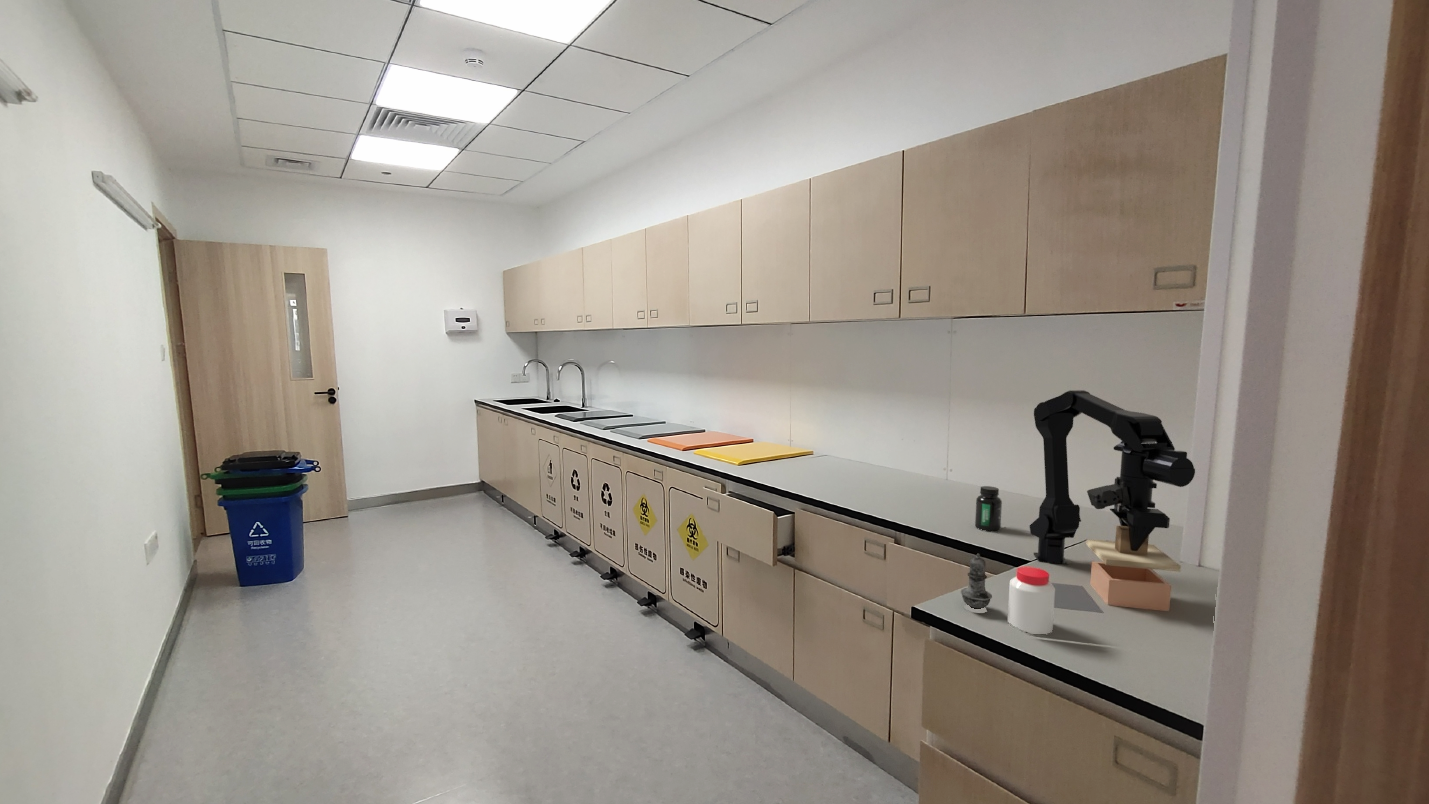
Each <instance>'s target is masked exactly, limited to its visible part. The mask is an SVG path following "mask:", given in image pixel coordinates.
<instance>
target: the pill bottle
mask: <svg viewBox="0 0 1429 804" xmlns="http://www.w3.org/2000/svg"><path fill="white" fill-rule="evenodd" d="M1049 580H1050V574H1049V572H1048V571H1046V570H1044V569H1041V568H1037V567H1034V566H1033V567H1032V566H1020V567H1017V568H1016V575H1015V576H1013V577H1012V578H1011V579H1010V580H1009V584H1008V585H1009V587H1008V588H1009V589H1008V602H1007V603H1008V605H1007V623H1008V622H1009V623H1011V624H1012V625H1013V626H1015V627H1018V628H1019V629H1021V630H1024V631H1027V632H1032V633H1038V634H1046V633H1050V632H1051V633H1053V631H1052V630H1054V619H1055V618H1054V617H1055V613H1054V612H1055V608H1054V602H1055V587H1054V586H1053V585H1052V584H1051V583H1052V582H1050V581H1049ZM1051 633H1050V634H1051ZM1046 635H1047V634H1046Z"/></svg>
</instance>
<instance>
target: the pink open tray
mask: <svg viewBox="0 0 1429 804" xmlns="http://www.w3.org/2000/svg"><path fill="white" fill-rule="evenodd" d="M1090 571H1091V572H1090V586H1091V587H1092V589H1094V591H1095V592H1096V593H1097V595H1098V596H1099V597H1100V598H1101V599H1102V600H1103V601H1104V603H1105V604H1106V606H1115V607H1122V608H1123V607H1125V608H1133V609H1134V608H1135V609H1145V610H1154V611H1163V612H1170V605H1171V604H1170V603H1171V594H1172V592H1171V591H1172V585H1171V584H1170V583H1169V582H1168V581H1167V580H1166V579H1164V578H1163V577H1162V576H1161V575H1160V574H1158V573H1157V572H1156V571H1155V569H1145V568H1134V567H1123V566H1112V565H1105V563H1104V562H1103V561H1091V569H1090Z"/></svg>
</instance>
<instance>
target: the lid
mask: <svg viewBox="0 0 1429 804" xmlns="http://www.w3.org/2000/svg"><path fill="white" fill-rule="evenodd" d="M1115 526H1116V528H1115V539H1114V541H1113V540H1100V539H1088V538H1087V539H1086V541H1085V543H1086V546H1087V547H1088V548H1089V549H1090V550H1091V551H1092V552H1093V553H1094V554H1095V555H1096V556H1097V558H1098V559H1099V560H1101V562H1104V563H1105V565H1112V566H1123V567H1134V568H1145V569H1153V570H1157V571H1160V570H1161V571H1170V572H1178V573H1179V572H1181V567H1182V566H1181V565H1180V564H1179V563H1178V562H1177V561H1175V560H1174V559H1173V558H1172V557H1170V556H1169V555H1168V554H1166V553H1165V552H1163V551H1162V550H1161V548H1158V547H1157V546H1156V545H1155V544H1153V543H1151V544H1150V543H1149V538H1150V537H1149V536H1150V535H1149V536H1148V537H1147V538H1146V540H1145V541H1144V542H1143V544H1142V545H1141V547H1140V548H1139V549H1138V551H1132V550H1131V547H1130V538H1129V527H1128V526H1121V525H1115Z"/></svg>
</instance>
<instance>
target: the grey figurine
mask: <svg viewBox="0 0 1429 804" xmlns="http://www.w3.org/2000/svg"><path fill="white" fill-rule="evenodd" d="M980 556H981V554H980V553H977V554H976V556H973V557H972V558H971V559H970V561H969V572H967V576H968V585H967V587H965V588H963V589H961V590H960V594H961V596H962V600H963V602H964V603H965V605H966V604H967V605H969V606H970V607H971V608H974V609H981V608H984V607H985V608H987V606H989V604H990V602H991V599H992V598H993V595H992V594H991V592H989V591H987V590H986V579H987V578H988V576H987V575H986V561H985V559H984V558H982V557H980Z"/></svg>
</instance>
